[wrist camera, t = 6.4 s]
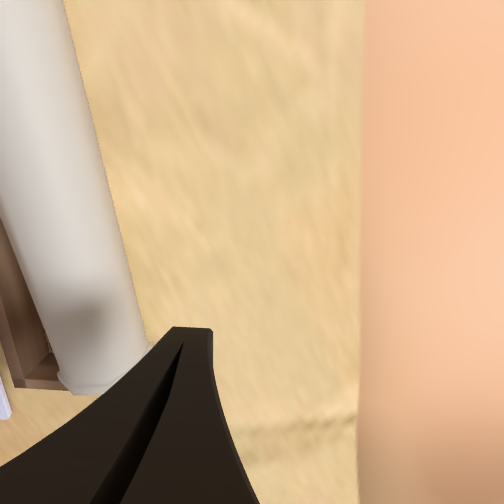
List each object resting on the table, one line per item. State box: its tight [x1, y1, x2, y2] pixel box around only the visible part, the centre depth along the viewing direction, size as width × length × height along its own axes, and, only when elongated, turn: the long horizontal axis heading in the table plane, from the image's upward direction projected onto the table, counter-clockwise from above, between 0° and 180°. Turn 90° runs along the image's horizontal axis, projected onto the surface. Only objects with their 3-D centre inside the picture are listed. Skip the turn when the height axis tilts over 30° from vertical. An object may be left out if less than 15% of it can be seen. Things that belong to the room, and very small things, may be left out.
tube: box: [0, 0, 153, 396], centre depth 15 cm, size 5×5×25 cm
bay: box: [0, 218, 69, 391], centre depth 15 cm, size 5×33×2 cm, turn 176°
